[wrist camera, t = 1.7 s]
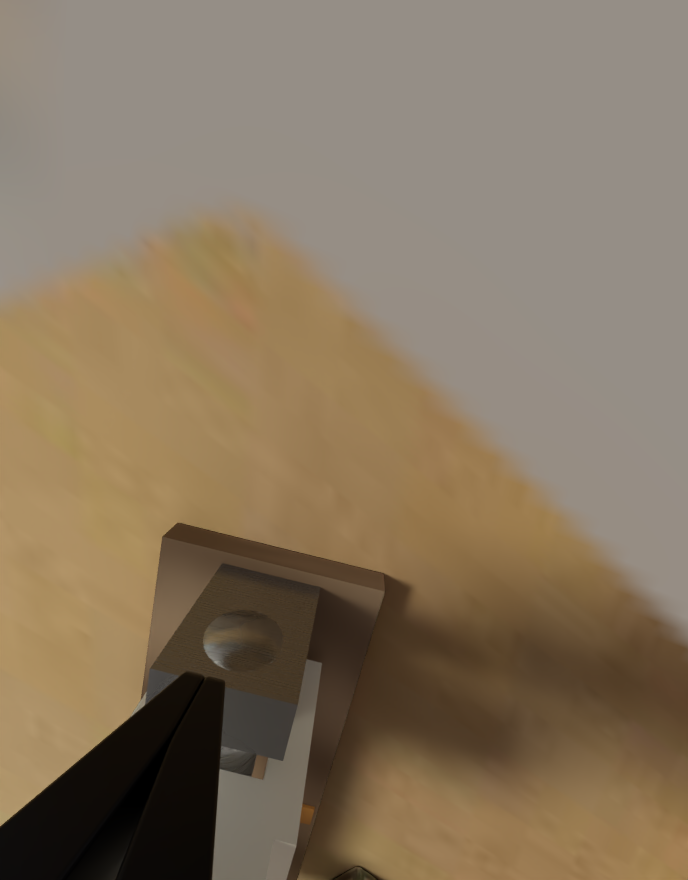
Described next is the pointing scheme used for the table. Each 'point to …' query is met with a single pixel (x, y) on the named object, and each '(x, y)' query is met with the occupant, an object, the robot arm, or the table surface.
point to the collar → (265, 802)
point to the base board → (332, 640)
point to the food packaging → (356, 875)
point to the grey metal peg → (245, 658)
